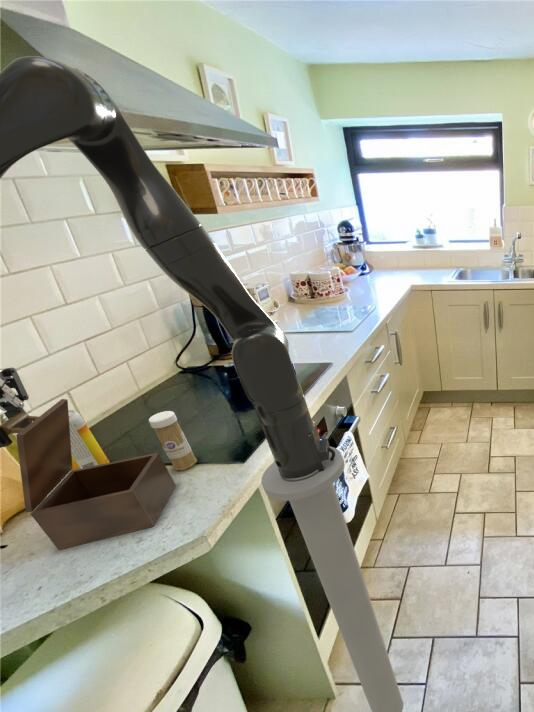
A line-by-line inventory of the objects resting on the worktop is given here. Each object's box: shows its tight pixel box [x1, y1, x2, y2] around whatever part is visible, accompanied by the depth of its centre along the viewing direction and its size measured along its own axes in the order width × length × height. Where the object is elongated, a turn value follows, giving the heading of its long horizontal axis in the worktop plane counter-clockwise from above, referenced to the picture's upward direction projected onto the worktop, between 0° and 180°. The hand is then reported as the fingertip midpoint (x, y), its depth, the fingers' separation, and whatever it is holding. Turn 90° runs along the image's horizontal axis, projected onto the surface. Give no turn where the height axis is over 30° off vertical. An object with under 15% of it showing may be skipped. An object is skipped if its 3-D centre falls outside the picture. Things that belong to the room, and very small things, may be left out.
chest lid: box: [0, 398, 73, 513], centre depth 73 cm, size 15×13×5 cm
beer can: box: [68, 409, 111, 471], centre depth 92 cm, size 6×6×15 cm
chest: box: [30, 452, 177, 551], centre depth 81 cm, size 15×13×9 cm
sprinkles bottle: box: [148, 410, 198, 471], centre depth 93 cm, size 5×5×13 cm
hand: (15, 436), depth 71 cm, fingers closed on chest lid, 5 cm apart
